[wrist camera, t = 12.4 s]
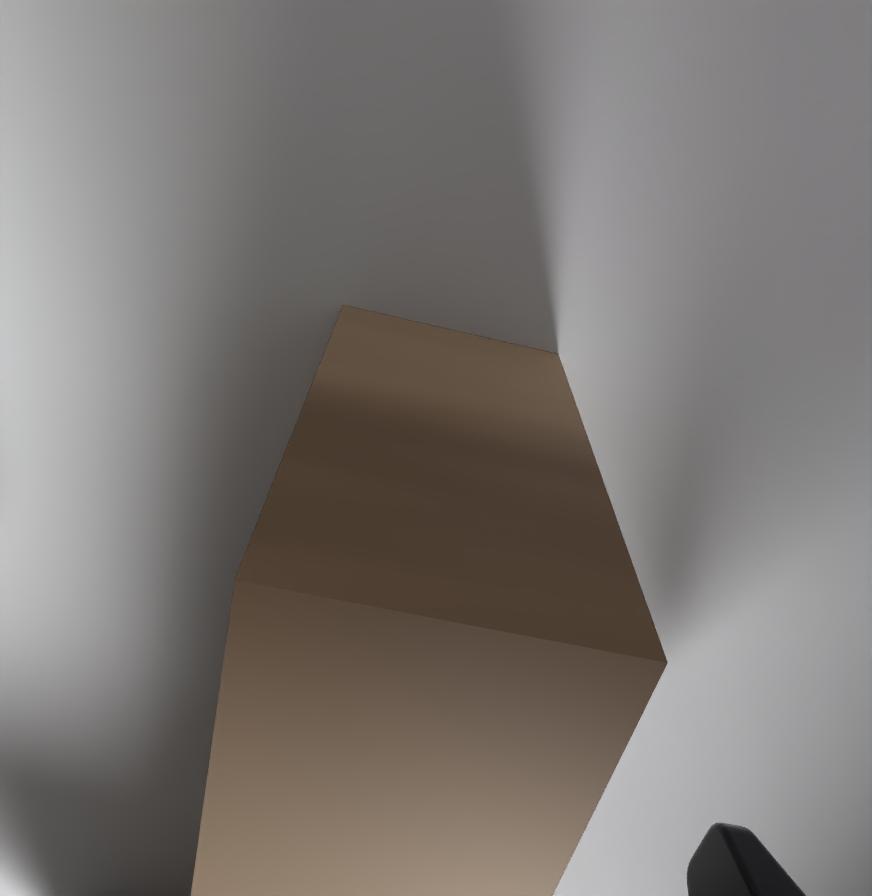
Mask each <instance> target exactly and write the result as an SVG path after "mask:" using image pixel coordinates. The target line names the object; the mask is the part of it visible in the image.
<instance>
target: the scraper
mask: <svg viewBox="0 0 872 896" xmlns="http://www.w3.org/2000/svg"><path fill="white" fill-rule="evenodd" d="M666 665H667V660H666V657H665V654H664V651H663V649H662V646H661V643H660V640H659V637H658V634H657V632H656V629H655V626H654V623H653V620H652V617H651V615H650V612H649V609H648V606H647V603H646V601H645V598H644V595H643V592H642V589H641V586H640V584H639V581H638V578H637V575H636V572H635V569H634V567H633V564H632V561H631V558H630V555H629V553H628V550H627V547H626V544H625V541H624V538H623V536H622V533H621V530H620V527H619V524H618V521H617V519H616V516H615V513H614V510H613V507H612V505H611V502H610V499H609V496H608V493H607V490H606V488H605V485H604V482H603V479H602V476H601V473H600V471H599V468H598V465H597V462H596V459H595V457H594V454H593V451H592V448H591V445H590V442H589V440H588V437H587V434H586V431H585V428H584V426H583V423H582V420H581V417H580V414H579V411H578V409H577V406H576V403H575V400H574V397H573V394H572V392H571V389H570V386H569V383H568V380H567V378H566V375H565V372H564V369H563V366H562V363H561V361H560V358H559V355H558V354H555V353H551V352H546V351H542V350H537V349H533V348H529V347H524V346H520V345H516V344H511V343H507V342H502V341H498V340H494V339H489V338H485V337H480V336H476V335H472V334H467V333H463V332H459V331H454V330H450V329H445V328H441V327H437V326H432V325H428V324H423V323H419V322H415V321H410V320H406V319H402V318H397V317H393V316H388V315H384V314H380V313H375V312H371V311H366V310H362V309H358V308H353V307H349V306H344V305H343V306H342V309H341V311H340V314H339V316H338V319H337V321H336V324H335V326H334V329H333V331H332V334H331V337H330V339H329V342H328V344H327V347H326V349H325V352H324V354H323V357H322V359H321V362H320V364H319V367H318V370H317V372H316V375H315V377H314V380H313V382H312V385H311V387H310V390H309V392H308V395H307V397H306V400H305V402H304V405H303V408H302V410H301V413H300V415H299V418H298V420H297V423H296V425H295V428H294V430H293V433H292V435H291V438H290V440H289V443H288V446H287V448H286V451H285V453H284V456H283V458H282V461H281V463H280V466H279V468H278V471H277V473H276V476H275V479H274V481H273V484H272V486H271V489H270V491H269V494H268V496H267V499H266V501H265V504H264V506H263V509H262V511H261V514H260V517H259V519H258V522H257V524H256V527H255V529H254V532H253V534H252V537H251V539H250V542H249V544H248V547H247V550H246V552H245V555H244V557H243V560H242V562H241V565H240V567H239V570H238V572H237V575H236V577H235V580H234V587H233V594H232V601H231V608H230V616H229V623H228V630H227V637H226V644H225V652H224V659H223V666H222V673H221V681H220V688H219V695H218V702H217V709H216V717H215V724H214V731H213V738H212V745H211V753H210V760H209V767H208V774H207V781H206V789H205V796H204V803H203V810H202V817H201V825H200V832H199V839H198V846H197V853H196V861H195V868H194V875H193V882H192V890H191V896H552V895H553V893H554V891H555V889H556V887H557V885H558V883H559V881H560V879H561V877H562V875H563V873H564V871H565V869H566V867H567V865H568V863H569V861H570V859H571V857H572V855H573V853H574V851H575V849H576V847H577V845H578V843H579V841H580V839H581V837H582V835H583V833H584V831H585V829H586V827H587V824H588V822H589V820H590V818H591V816H592V814H593V812H594V810H595V808H596V806H597V804H598V802H599V800H600V798H601V796H602V794H603V792H604V790H605V788H606V786H607V784H608V782H609V780H610V778H611V776H612V774H613V772H614V770H615V768H616V766H617V764H618V762H619V760H620V758H621V756H622V754H623V752H624V750H625V748H626V746H627V744H628V742H629V740H630V738H631V736H632V734H633V732H634V730H635V728H636V726H637V724H638V722H639V720H640V718H641V715H642V713H643V711H644V709H645V707H646V705H647V703H648V701H649V699H650V697H651V695H652V693H653V691H654V689H655V687H656V685H657V683H658V681H659V679H660V677H661V675H662V673H663V671H664V669H665V667H666Z"/></svg>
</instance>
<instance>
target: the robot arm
mask: <svg viewBox="0 0 872 896" xmlns="http://www.w3.org/2000/svg"><path fill="white" fill-rule="evenodd" d="M687 886H688V895H689V896H806V895H805V894H804V893H803V892H802V891H801V889H800V888H799V887H798V886H797V885H796V883H795V882H794V881H793V880H792V879H791V877H790V876H789V875H788V874H787V873H786V872H785V870H784V869H783V868H782V867H781V866H780V864H779V863H778V862H777V861H776V860H775V858H774V857H773V856H772V855H771V854H770V853H769V851H768V850H767V849H766V848H765V847H764V845H763V844H762V843H761V842H760V841H759V839H758V838H757V837H756V836H755V835H754V834H753V833H752V832H751V831H750V830H749V829H747V828H745V827H742V826H737V825H731V824H725V823H716V824H714V825H712V826H711V827H710V829H709V830H708V832H707V834H706V835H705V837H704V839H703V840H702V842H701V843H700V845H699V847H698V848H697V850H696V852H695V853H694V855H693V857H692V858H691V860H690V863H689V866H688V871H687Z"/></svg>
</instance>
